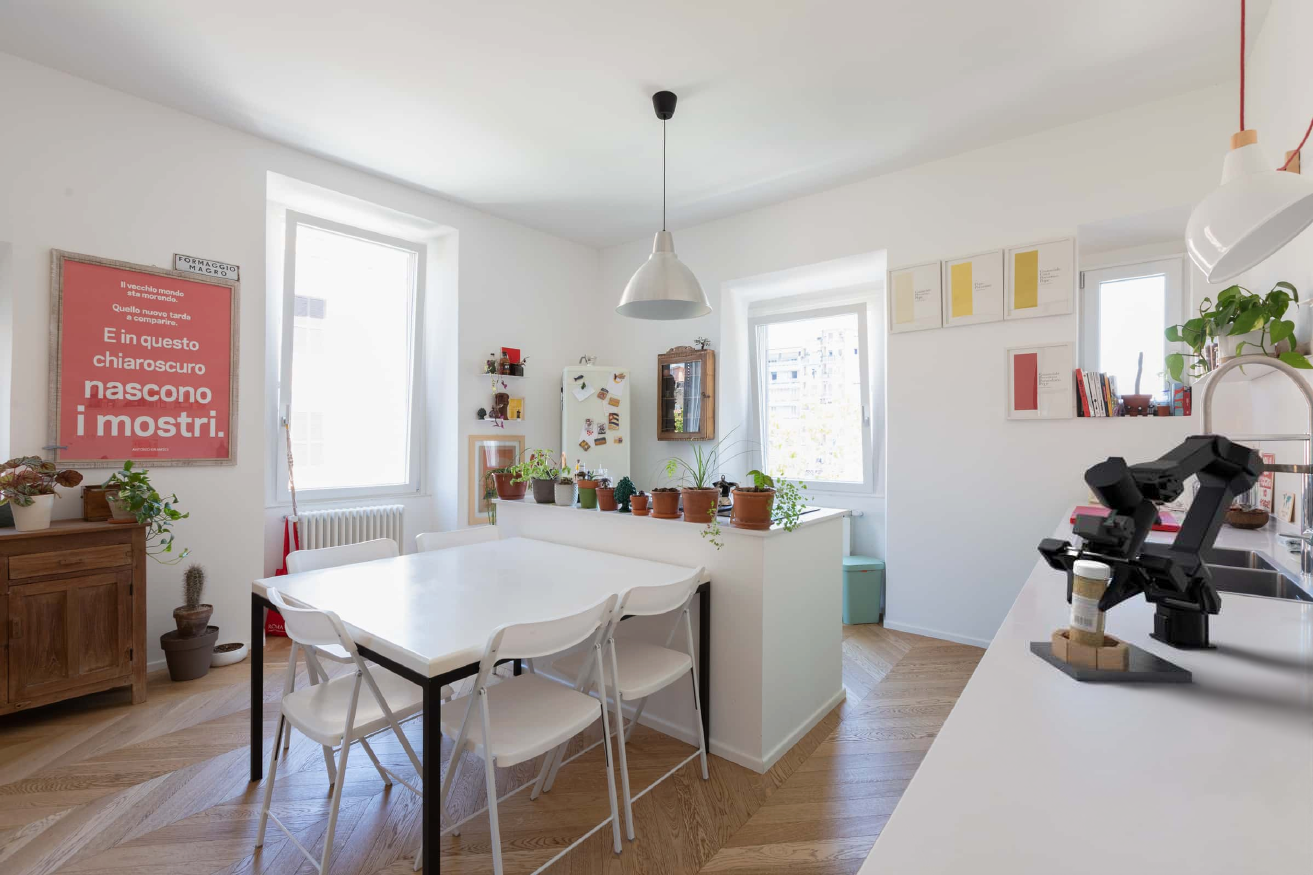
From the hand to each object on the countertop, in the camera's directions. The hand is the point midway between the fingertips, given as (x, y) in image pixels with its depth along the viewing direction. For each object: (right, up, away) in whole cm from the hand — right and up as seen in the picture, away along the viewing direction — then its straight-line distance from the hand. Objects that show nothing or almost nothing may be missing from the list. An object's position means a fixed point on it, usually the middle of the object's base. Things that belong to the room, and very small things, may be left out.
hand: (1084, 606), depth 90 cm
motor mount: (+4, -10, +1) cm, 11 cm away
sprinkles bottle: (+1, -7, +1) cm, 7 cm away
